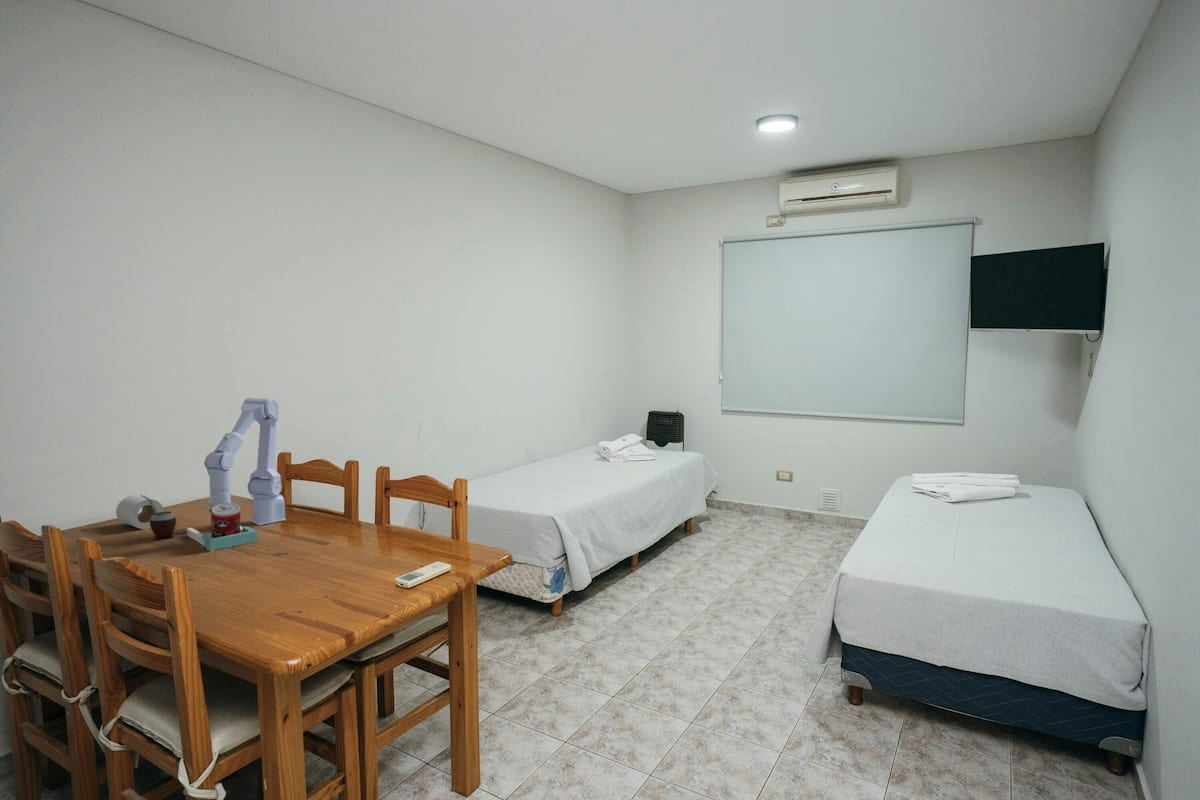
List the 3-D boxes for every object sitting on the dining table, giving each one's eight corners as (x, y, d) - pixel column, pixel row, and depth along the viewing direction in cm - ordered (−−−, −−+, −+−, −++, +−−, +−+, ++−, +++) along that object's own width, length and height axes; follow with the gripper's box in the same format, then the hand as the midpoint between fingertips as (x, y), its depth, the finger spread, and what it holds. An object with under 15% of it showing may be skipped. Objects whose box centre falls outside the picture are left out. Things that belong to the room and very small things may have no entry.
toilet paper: (163, 525, 229) (162, 496, 228) (131, 532, 220) (130, 502, 219) (149, 520, 234) (147, 492, 233) (116, 527, 225) (115, 498, 224)
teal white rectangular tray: (231, 527, 227) (231, 517, 227) (257, 541, 213) (256, 531, 213) (186, 536, 217) (186, 525, 217) (210, 551, 203) (210, 540, 203)
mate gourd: (181, 535, 218) (179, 490, 217) (163, 542, 210) (161, 496, 209) (160, 534, 219) (158, 489, 218) (141, 541, 211) (139, 494, 210)
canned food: (206, 537, 211) (206, 507, 207) (232, 529, 217) (232, 499, 214) (219, 548, 207) (219, 517, 204) (244, 539, 214) (245, 509, 210)
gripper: (198, 487, 215) (200, 528, 217) (214, 494, 206) (216, 537, 207) (222, 483, 221) (223, 523, 222) (239, 491, 211) (240, 533, 212)
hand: (221, 530), depth 215 cm, fingers closed
